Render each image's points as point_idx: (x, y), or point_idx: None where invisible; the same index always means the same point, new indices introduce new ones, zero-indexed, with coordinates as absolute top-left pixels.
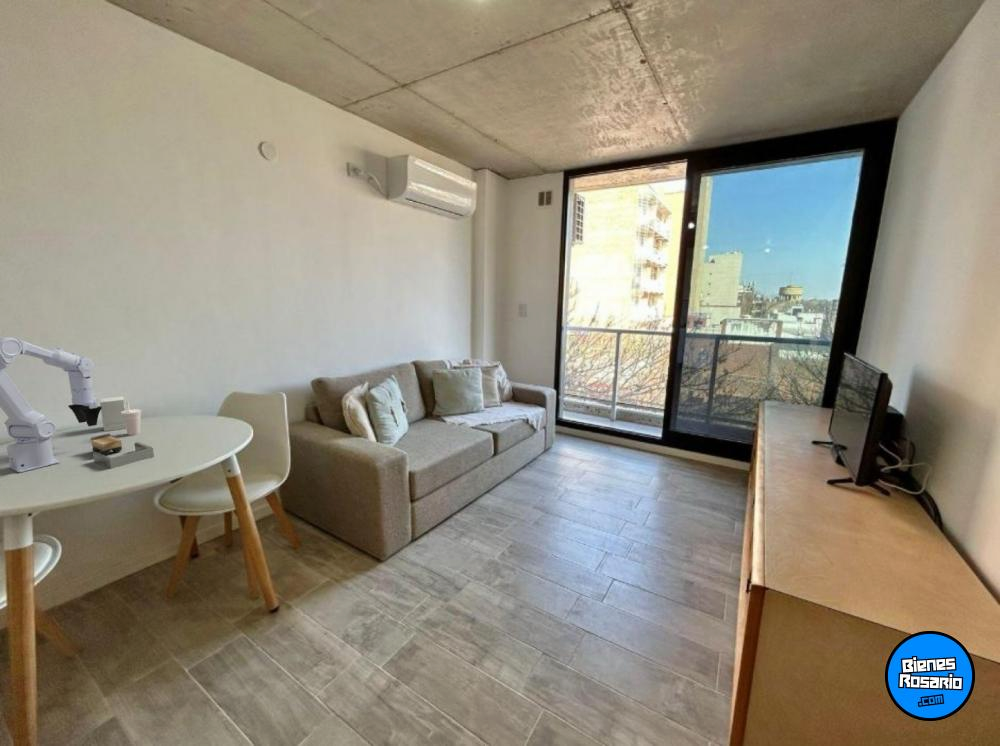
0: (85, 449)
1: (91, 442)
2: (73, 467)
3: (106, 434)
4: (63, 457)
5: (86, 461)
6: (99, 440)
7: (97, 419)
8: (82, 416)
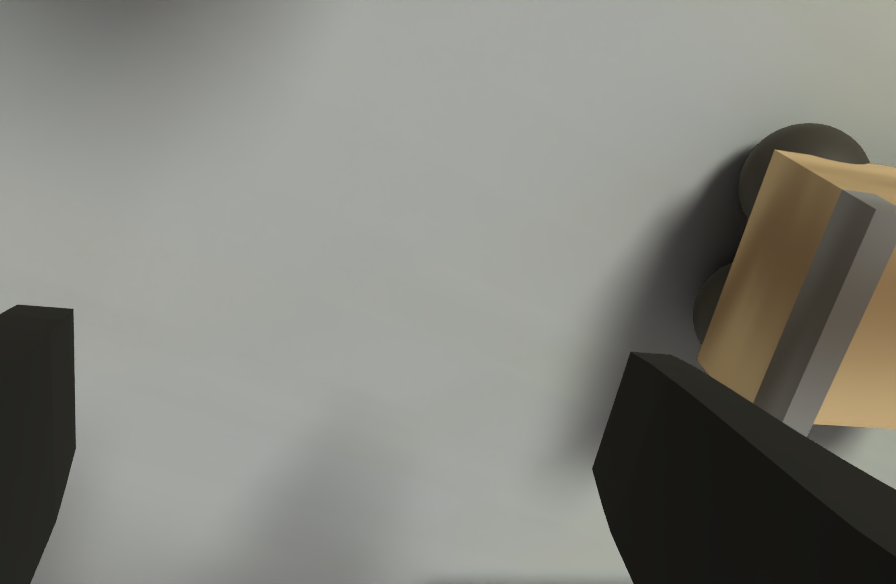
0: (459, 302)
1: None
2: None
3: (882, 266)
4: (519, 517)
5: (861, 469)
6: (884, 377)
7: (777, 421)
8: (4, 507)
